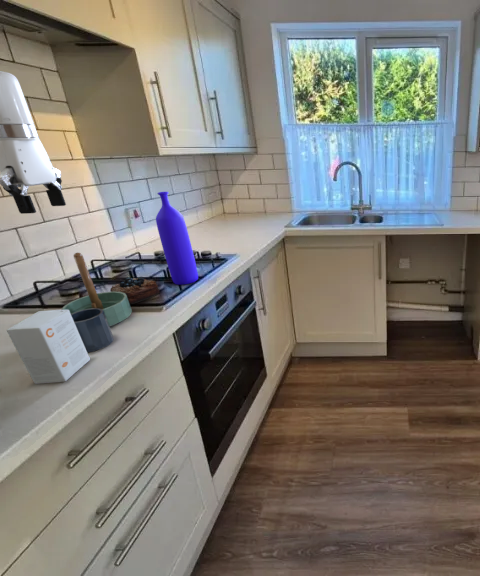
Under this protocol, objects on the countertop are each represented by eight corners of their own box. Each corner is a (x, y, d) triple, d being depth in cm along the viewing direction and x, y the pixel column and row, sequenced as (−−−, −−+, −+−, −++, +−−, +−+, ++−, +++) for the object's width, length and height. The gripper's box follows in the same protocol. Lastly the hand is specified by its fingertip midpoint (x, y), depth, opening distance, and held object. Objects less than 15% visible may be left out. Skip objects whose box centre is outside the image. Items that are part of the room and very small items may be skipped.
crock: (68, 353, 84) (55, 323, 81) (89, 337, 91) (77, 309, 88) (102, 351, 85) (90, 321, 82) (120, 335, 92) (109, 307, 89)
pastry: (129, 306, 107) (123, 288, 105) (106, 299, 112) (100, 281, 110) (164, 292, 116) (159, 275, 114) (142, 286, 121) (137, 270, 119)
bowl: (55, 335, 92) (47, 316, 90) (91, 310, 105) (84, 293, 103) (114, 331, 94) (107, 312, 91) (142, 307, 106) (136, 290, 104)
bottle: (174, 287, 120) (148, 195, 108) (171, 279, 126) (146, 192, 114) (201, 281, 124) (179, 192, 112) (196, 274, 130) (175, 189, 118)
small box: (62, 361, 82) (38, 310, 76) (91, 359, 82) (69, 308, 77) (32, 384, 74) (4, 329, 69) (65, 382, 74) (39, 327, 69)
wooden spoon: (95, 321, 98) (68, 254, 90) (101, 315, 101) (77, 251, 93) (102, 320, 98) (76, 254, 90) (108, 315, 101) (84, 250, 93)
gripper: (28, 134, 90) (54, 203, 96) (-40, 133, 74) (-4, 217, 80) (60, 133, 90) (84, 202, 97) (-1, 133, 74) (32, 215, 81)
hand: (44, 209), depth 89 cm, fingers open, 9 cm apart
